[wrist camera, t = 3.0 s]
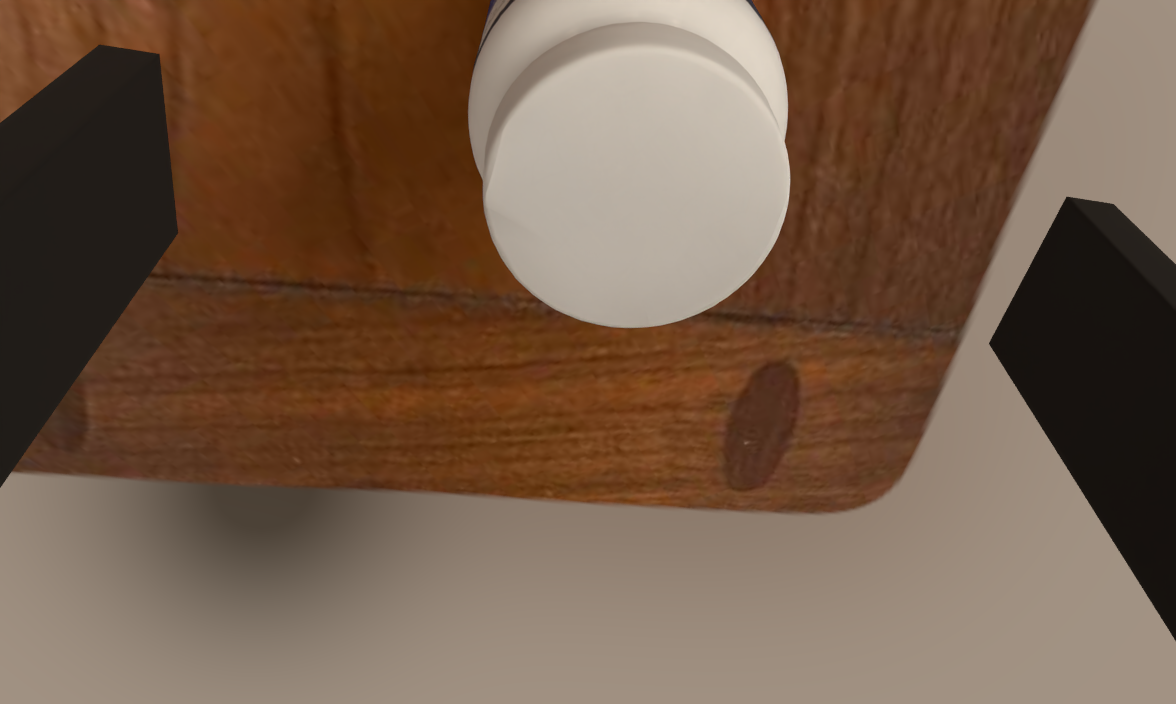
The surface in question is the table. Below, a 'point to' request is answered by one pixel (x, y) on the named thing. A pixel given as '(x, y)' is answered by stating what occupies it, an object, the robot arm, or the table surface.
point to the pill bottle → (630, 152)
